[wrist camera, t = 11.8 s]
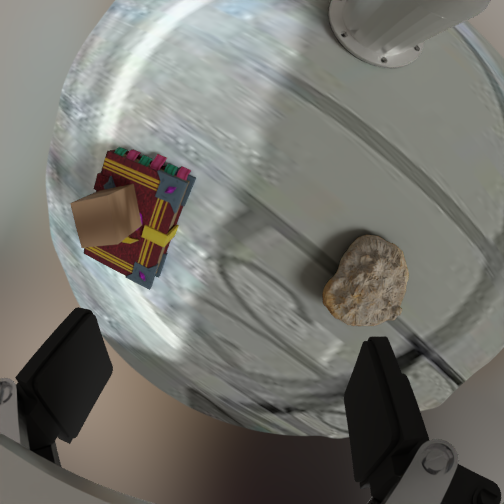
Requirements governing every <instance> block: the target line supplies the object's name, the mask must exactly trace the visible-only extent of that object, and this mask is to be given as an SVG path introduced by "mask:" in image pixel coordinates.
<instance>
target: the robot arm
mask: <svg viewBox="0 0 504 504" xmlns="http://www.w3.org/2000/svg"><path fill="white" fill-rule="evenodd" d="M490 1H491V0H341V1H340V0H331V3H330V5H329V12H328V15H329V22H330V25H331V29H332V31H333V32H334V34H335V36H336V38H337V39H338V40H339V42H340V43H341V44H342V45H343V46H344V47H345V48H346V49H347V50H348V51H349V52H350V53H352V54H353V55H354V56H356V57H357V58H359V59H361V60H362V61H364V62H366V63H369V64H371V65H374V66H378V67H383V68H397V67H402V66H405V65H407V64H409V63H411V62H413V61H414V60H415V59H416V58H418V57H419V55H420V54H421V52H422V50H423V47H424V41H426V40H428V39H430V38H431V37H433V36H435V35H437V34H439V33H441V32H443V31H445V30H447V29H449V28H452V27H454V26H456V25H458V24H460V23H462V22H464V21H466V20H469V19H470V18H473V17H475V16H477V15H479V14H480V13H482V12H483V11H484V10H485V9H486V8H487V6H488V4H489V3H490ZM341 35H344V37H342V36H341ZM381 60H382V61H383V63H382V62H381ZM112 371H113V366H112V363H111V361H110V358H109V355H108V352H107V350H106V347H105V344H104V341H103V338H102V335H101V332H100V328H99V325H98V322H97V319H96V316H95V315H93V313H92V311H91V310H88V309H83V308H79V307H78V308H75V309H74V310H73V311H72V312H71V313H70V314H69V316H68V317H67V318H66V319H65V320H64V321H63V322H62V323H61V324H60V325H59V326H58V328H57V329H56V330H55V331H54V332H53V333H52V335H51V336H50V337H49V338H48V339H47V340H46V341H45V342H44V344H43V345H42V346H41V347H40V348H39V349H38V351H37V352H36V353H35V354H34V355H33V357H32V358H31V359H30V360H29V362H28V363H27V364H26V365H25V366H24V368H23V369H22V370H21V371H20V372H19V374H18V375H17V376H16V379H17V381H18V383H17V385H16V384H15V383H14V381H12V380H11V379H8V378H1V379H0V504H155V503H151V502H148V501H144V500H141V499H138V498H135V497H132V496H129V495H126V494H123V493H120V492H117V491H115V490H112V489H109V488H107V487H104V486H102V485H99V484H96V483H94V482H92V481H89V480H87V479H85V478H83V477H80V476H78V475H76V474H74V473H72V472H70V471H68V470H66V469H64V468H62V467H61V464H60V460H59V456H58V452H57V447H56V443H55V440H56V438H57V437H58V438H59V439H61V440H63V441H65V442H67V443H69V444H70V443H71V441H72V439H73V438H76V437H77V435H78V433H79V432H80V430H81V428H82V426H83V424H84V422H85V421H86V419H87V417H88V415H89V413H90V411H91V409H92V408H93V406H94V404H95V402H96V401H97V399H98V397H99V395H100V394H101V392H102V390H103V388H104V386H105V385H106V383H107V381H108V380H109V378H110V376H111V374H112ZM344 404H345V410H346V417H347V423H348V430H349V438H350V445H351V453H352V461H353V469H354V478H355V481H356V482H360V488H361V489H362V488H369V487H370V489H371V496H373V497H372V498H371V499H370V501H369V502H368V503H367V504H504V503H501V502H500V501H501V492H500V489H499V487H498V485H497V484H496V483H494V482H493V481H491V480H489V479H487V478H485V477H483V476H480V475H479V474H477V473H475V472H472V471H471V470H469V469H467V468H465V467H463V466H461V465H459V464H458V454H457V451H456V449H455V448H454V447H453V446H452V444H450V443H449V442H447V441H445V440H442V439H432V440H429V437H428V434H427V431H426V428H425V425H424V422H423V419H422V416H421V413H420V410H419V407H418V404H417V401H416V399H415V396H414V393H413V390H412V388H411V385H410V382H409V380H408V378H407V376H406V375H405V374H402V373H401V370H400V368H399V365H398V363H397V360H396V357H395V355H394V352H393V350H392V347H391V345H390V342H389V340H388V338H387V337H370V338H369V339H368V341H364V342H363V344H362V347H361V350H360V353H359V356H358V358H357V361H356V364H355V367H354V370H353V372H352V375H351V378H350V380H349V383H348V386H347V388H346V391H345V394H344Z"/></svg>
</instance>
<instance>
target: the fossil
mask: <svg viewBox="0 0 504 504" xmlns="http://www.w3.org/2000/svg"><path fill="white" fill-rule="evenodd" d="M408 278H409V272H408V268H407V265H406V261H405V258H404V254H403V251H401V250H400V249H399V248H398V247H397V246H396V245H395V244H393V243H390V242H388V241H385V240H384V239H382V238H381V237H379V236H375V235H373V236H372V235H365V236H364V235H363V236H361V237H358V238H357V239H356V240H355V241H354V242H353V243H352V244H351V245H350V247H349V249H348V250H347V251H346V253H345V254H344V255H343V257H342V259H341V261H340V265H339V268H338V270H337V272H336V274H335V275H334V276H333V277H332V278H331V279H330V280H329V281H328V283H327V284H326V285H325V287H324V290H323V294H322V295H323V304H324V305H325V306H326V307H327V308H328V310H329V311H330V313H331V314H332V315H333V316H334V317H335V318H337V319H339V320H341V321H342V322H344V323H346V324H347V325H351V326H355V325H356V326H375V325H378V324H380V323H383V322H384V321H386V320H395V319H396V317H397V316H398V315H400V313H401V312H402V308H401V307H400V305H401V302H402V300H403V297H404V294H405V292H406V283H407V281H408Z"/></svg>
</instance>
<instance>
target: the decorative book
mask: <svg viewBox="0 0 504 504" xmlns="http://www.w3.org/2000/svg"><path fill="white" fill-rule="evenodd" d="M139 154H140V152H138V151H136V150H130V151H128V150H126V149H123V148H121V147H119V148H117V149H116V150H110V151H107V154H106V157H105V160H104V164H103V167H102V171H101V173H98V174H97V178H96V182H95V186H94V189H95V190H96V192H98V191H100V190H105V189H110V188H115V187H120V186H125V185H131V184H134V188H135V193H136V198H137V204H138V209H139V214H140V218H141V223H142V226H141V227H139V228H138V229H137V230H135V231H134V232H133V233H132V234H130V235H129V236H128V237H127V238H125V239H124V240H123V241H122V242H120V243H119V244H115V245H105V246H95V247H85V248H84V254H86V255H88V256H90V257H91V258H93V259H95V260H97V261H99V262H101V263H102V264H104V265H106V266H108V267H110V268H112V269H114V270H116V271H118V272H120V273H121V274H123V275H125V276H126V278H128V279H130V280H132V281H134V282H136V283H137V284H139V285H141V286H143V287H145V288H147V289H149V290H150V288H151V287H152V284H153V281H154V277H155V276H156V277H158V278H159V276H160V274H161V271H162V268H163V265H164V262H165V259H166V256H167V253H166V252H167V249H168V247H169V244H170V241H171V239H172V238H173V237H174V236H175V234H176V231H177V228H178V226H179V225H177V222H178V219H179V216H180V214H181V211H182V208H183V206H185V204H186V202H187V199H188V197H189V194H190V192H191V189H192V187H193V184H194V182H195V179H196V177H193V176H191V175H189V173H190V172H191V170H189V169H187V168H184V167H181V168H180V170H177V168H178V167H176V166H174V165H171V164H168V165H167V166H164V165H163V164H164V162H165V161H166V159H167V158H166V157H164V156H161V155H159V154H157V156H156V158H155V159H154V160H153V161H152V158H149V157H147V156H145V155H143V156H139Z"/></svg>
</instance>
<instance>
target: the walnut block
mask: <svg viewBox="0 0 504 504" xmlns="http://www.w3.org/2000/svg"><path fill="white" fill-rule="evenodd" d="M71 208H72V212H73V216H74V220H75V224H76V228H77V232H78V236H79V240H80V243H81V247H82V248H85V247H95V246H105V245H115V244H119V243H120V242H122V241H123V240H124V239H125V238H127V237H128V236H129V235H130V234H132V233H133V232H134V231H135V230H137V229H138V228H139V227H141V226H142V223H141V218H140V214H139V209H138V204H137V198H136V193H135V188H134V184H131V185H125V186H120V187H115V188H110V189H105V190H100V191H98V192H95V193H93V194H90V195H88V196H86V197H84V198H81V199H79V200H77V201H75V202H72V203H71Z"/></svg>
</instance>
